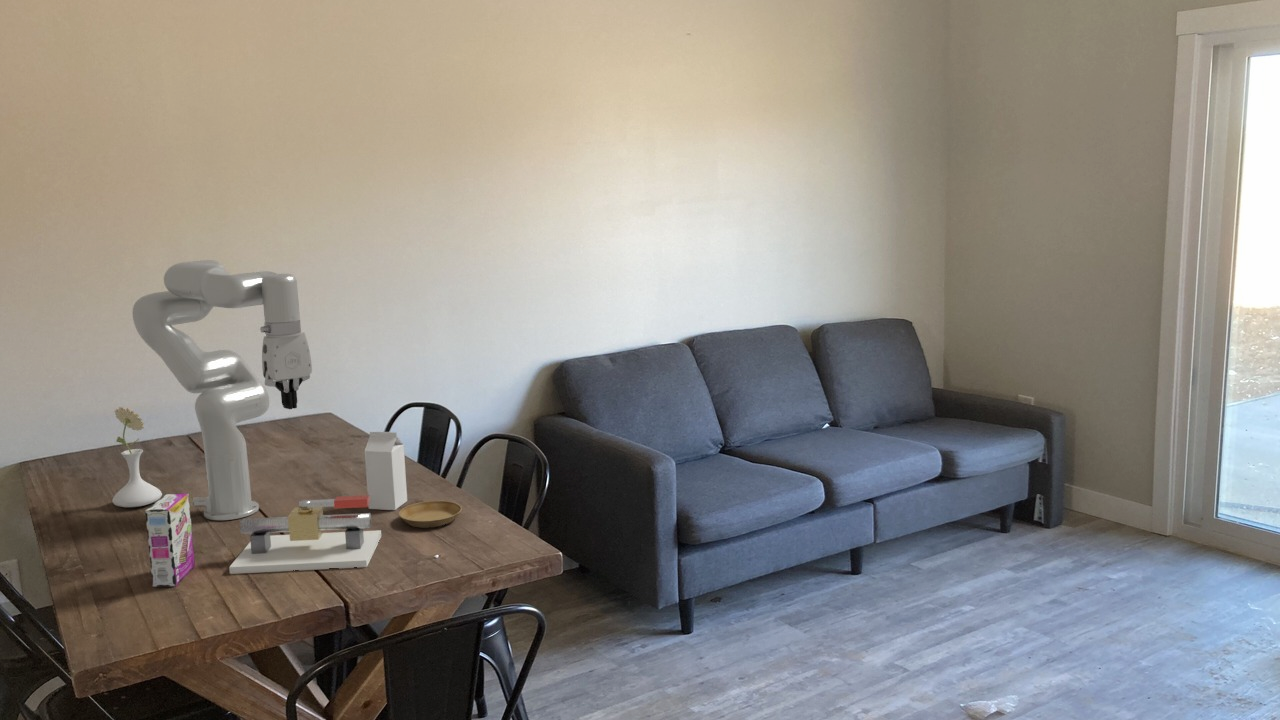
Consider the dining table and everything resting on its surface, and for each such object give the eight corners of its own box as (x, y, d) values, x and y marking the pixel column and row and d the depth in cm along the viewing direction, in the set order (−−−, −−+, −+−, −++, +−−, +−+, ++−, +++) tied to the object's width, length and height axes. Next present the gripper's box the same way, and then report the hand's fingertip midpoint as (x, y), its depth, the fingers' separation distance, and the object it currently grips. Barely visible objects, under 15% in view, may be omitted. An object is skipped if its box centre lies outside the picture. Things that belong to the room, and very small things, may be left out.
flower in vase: (170, 502, 253) (159, 407, 248) (123, 514, 244) (111, 416, 240) (149, 492, 261) (139, 400, 257) (103, 503, 253) (91, 408, 249)
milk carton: (395, 510, 243) (390, 436, 240) (368, 509, 245) (363, 435, 241) (407, 501, 250) (402, 428, 247) (381, 500, 251) (376, 427, 248)
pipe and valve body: (240, 555, 212) (236, 515, 210) (248, 546, 217) (245, 507, 216) (369, 549, 214) (366, 509, 212) (373, 540, 220) (371, 501, 218)
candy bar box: (177, 587, 200) (169, 509, 197) (152, 588, 200) (143, 510, 196) (197, 565, 211) (189, 492, 208) (173, 567, 210) (164, 493, 207)
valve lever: (367, 507, 214) (367, 499, 214) (297, 510, 213) (297, 502, 212) (369, 502, 217) (369, 495, 216) (301, 506, 215) (300, 498, 215)
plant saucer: (409, 510, 244) (408, 500, 244) (468, 510, 243) (467, 500, 243) (391, 531, 230) (390, 521, 229) (454, 531, 229) (453, 520, 228)
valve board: (229, 573, 206) (229, 567, 206) (255, 542, 224) (254, 536, 223) (366, 567, 208) (366, 560, 208) (381, 536, 226) (380, 530, 226)
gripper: (261, 334, 215) (268, 416, 219) (321, 326, 227) (328, 404, 230) (243, 331, 220) (251, 412, 224) (303, 323, 231) (310, 399, 235)
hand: (290, 407), depth 227 cm, fingers closed
